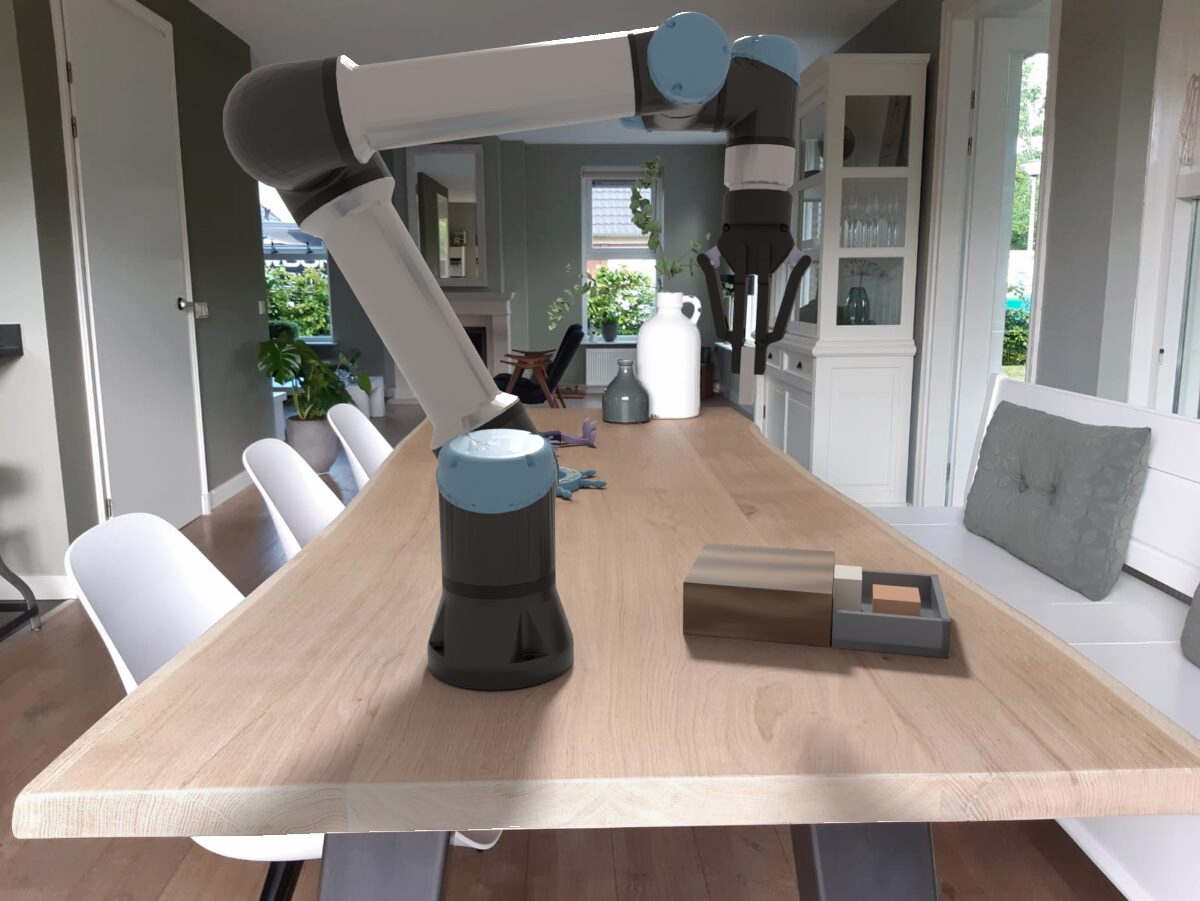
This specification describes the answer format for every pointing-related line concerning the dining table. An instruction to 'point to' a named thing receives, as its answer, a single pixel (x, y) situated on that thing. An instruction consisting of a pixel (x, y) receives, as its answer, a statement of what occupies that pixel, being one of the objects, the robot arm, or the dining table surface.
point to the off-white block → (847, 588)
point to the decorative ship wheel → (575, 481)
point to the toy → (586, 439)
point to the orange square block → (896, 600)
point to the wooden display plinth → (760, 594)
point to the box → (896, 619)
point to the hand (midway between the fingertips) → (746, 402)
